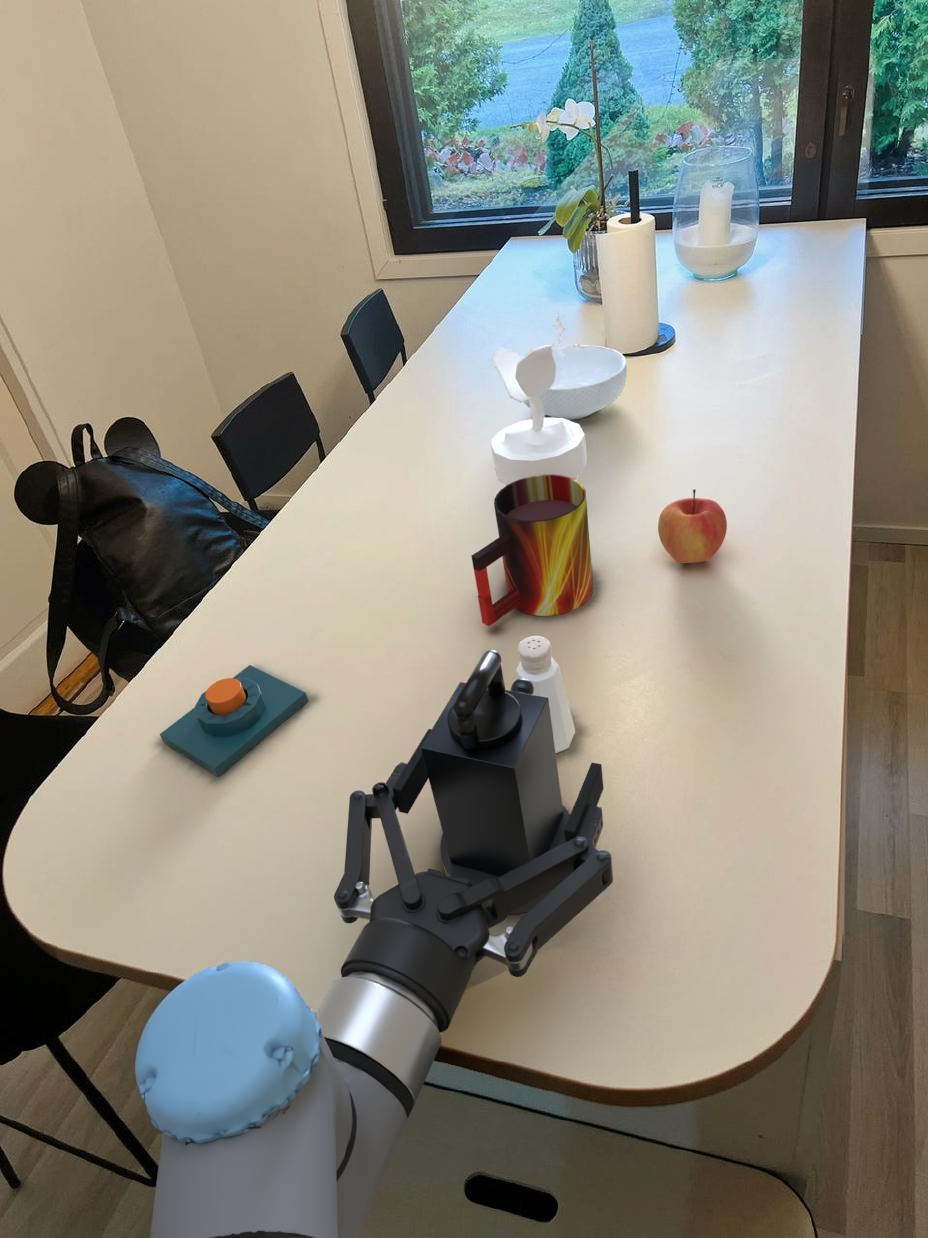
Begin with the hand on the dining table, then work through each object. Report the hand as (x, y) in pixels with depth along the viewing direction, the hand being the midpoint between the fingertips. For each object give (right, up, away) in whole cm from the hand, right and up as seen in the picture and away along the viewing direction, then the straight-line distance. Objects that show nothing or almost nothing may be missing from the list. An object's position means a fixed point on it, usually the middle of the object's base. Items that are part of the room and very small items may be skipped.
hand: (513, 757), depth 68 cm
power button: (-27, +2, +19) cm, 33 cm away
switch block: (-27, 0, +21) cm, 34 cm away
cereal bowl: (+13, +43, +66) cm, 80 cm away
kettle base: (0, -8, +3) cm, 9 cm away
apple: (+22, +17, +31) cm, 42 cm away
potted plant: (+6, +25, +45) cm, 52 cm away
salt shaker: (+4, 0, +13) cm, 13 cm away
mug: (+5, +13, +29) cm, 32 cm away
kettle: (0, -5, +3) cm, 6 cm away
